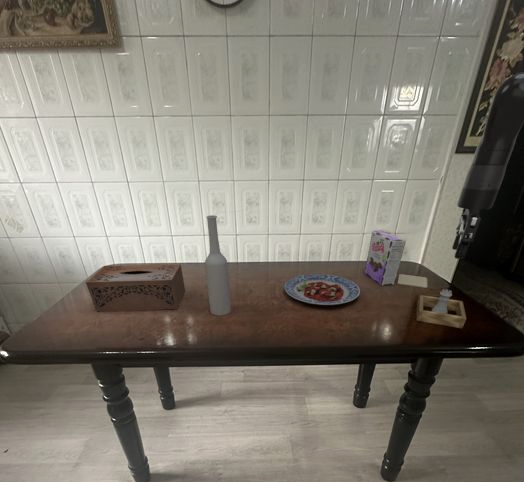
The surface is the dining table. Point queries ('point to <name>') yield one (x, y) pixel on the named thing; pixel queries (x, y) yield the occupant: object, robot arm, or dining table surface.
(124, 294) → the tissue box cover
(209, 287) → the bottle
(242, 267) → the dining table surface
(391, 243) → the candy box
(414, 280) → the felt mat
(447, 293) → the rook chess piece
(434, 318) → the wooden box
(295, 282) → the ceramic plate
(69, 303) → the dining table surface
